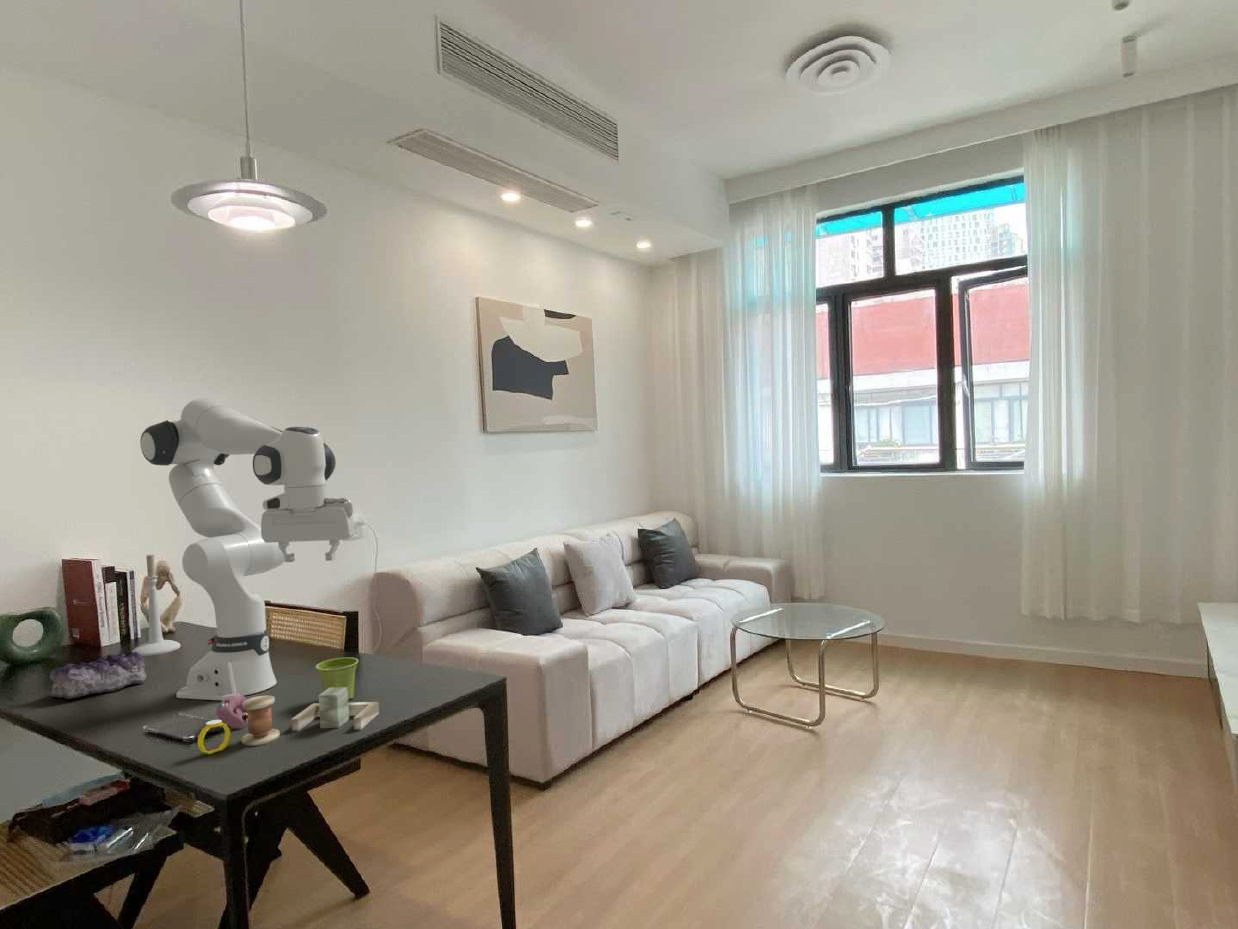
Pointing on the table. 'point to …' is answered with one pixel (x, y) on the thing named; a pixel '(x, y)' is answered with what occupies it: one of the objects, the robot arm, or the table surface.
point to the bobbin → (259, 721)
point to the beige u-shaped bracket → (358, 709)
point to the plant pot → (338, 673)
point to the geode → (98, 676)
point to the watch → (201, 736)
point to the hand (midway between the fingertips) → (310, 561)
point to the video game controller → (232, 711)
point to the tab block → (333, 707)
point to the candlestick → (154, 620)
